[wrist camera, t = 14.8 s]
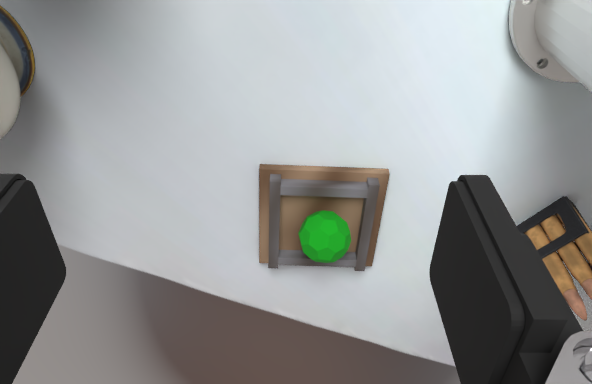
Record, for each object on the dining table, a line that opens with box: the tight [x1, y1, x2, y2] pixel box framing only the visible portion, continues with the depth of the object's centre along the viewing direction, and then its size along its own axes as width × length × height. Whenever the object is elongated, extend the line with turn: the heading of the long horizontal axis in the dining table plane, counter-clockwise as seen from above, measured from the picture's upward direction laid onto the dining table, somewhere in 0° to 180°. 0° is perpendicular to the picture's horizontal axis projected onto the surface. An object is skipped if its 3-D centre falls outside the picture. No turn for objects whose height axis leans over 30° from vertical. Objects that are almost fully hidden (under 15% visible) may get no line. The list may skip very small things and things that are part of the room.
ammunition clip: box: [516, 196, 592, 320], centre depth 46 cm, size 11×2×12 cm, turn 137°
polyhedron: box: [298, 210, 351, 263], centre depth 47 cm, size 5×5×5 cm
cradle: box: [259, 164, 389, 271], centre depth 49 cm, size 12×12×2 cm
